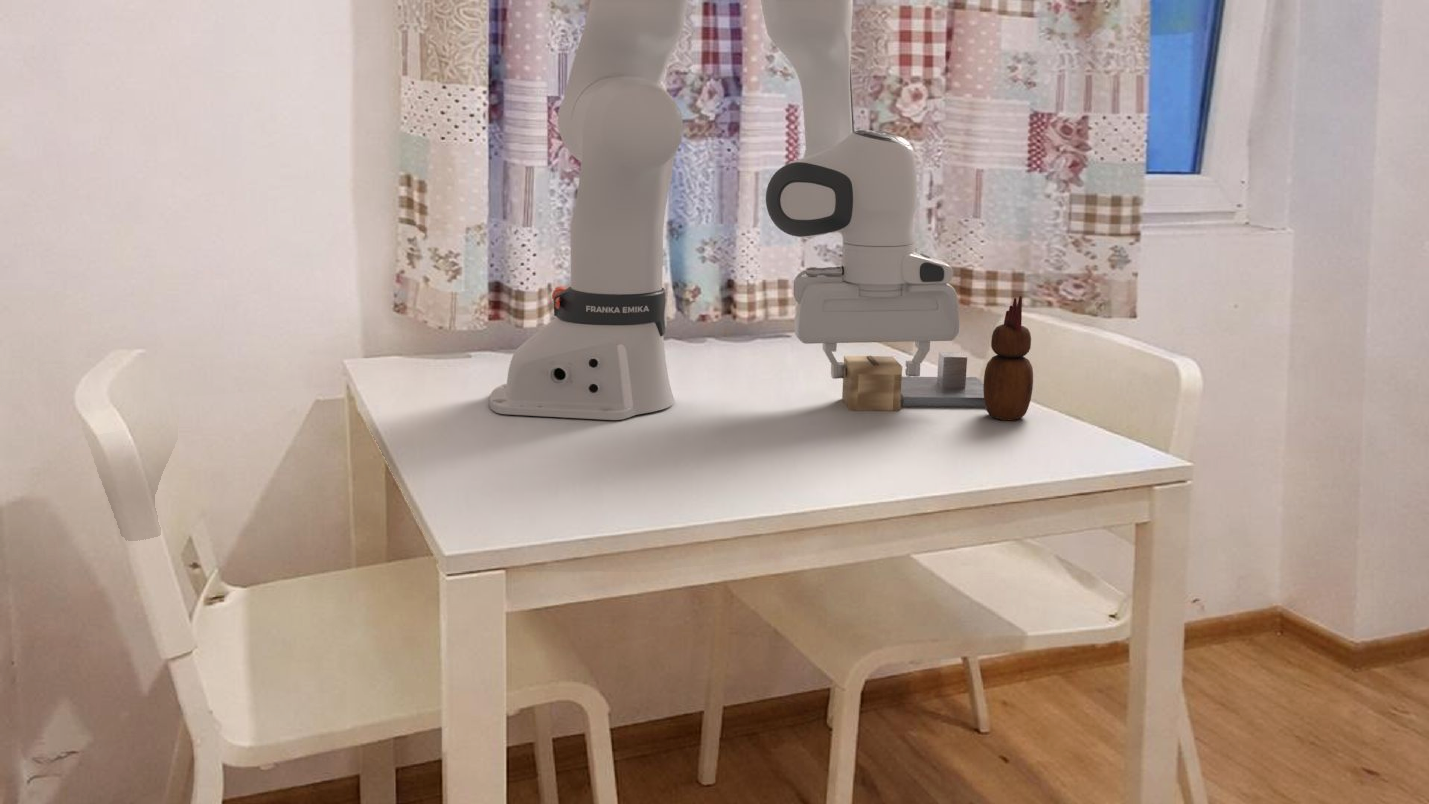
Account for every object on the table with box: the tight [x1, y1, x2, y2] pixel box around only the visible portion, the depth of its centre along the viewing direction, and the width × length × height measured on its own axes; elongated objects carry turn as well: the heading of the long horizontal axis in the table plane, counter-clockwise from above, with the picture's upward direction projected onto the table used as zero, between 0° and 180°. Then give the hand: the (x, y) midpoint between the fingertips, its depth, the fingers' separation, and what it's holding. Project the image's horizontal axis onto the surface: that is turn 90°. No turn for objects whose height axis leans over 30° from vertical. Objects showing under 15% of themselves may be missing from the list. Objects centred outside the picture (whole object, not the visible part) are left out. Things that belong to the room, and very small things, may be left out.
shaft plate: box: [900, 351, 986, 408], centre depth 169 cm, size 12×12×5 cm
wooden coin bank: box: [841, 355, 903, 412], centre depth 163 cm, size 6×6×6 cm
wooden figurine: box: [983, 295, 1034, 421], centre depth 157 cm, size 7×6×15 cm
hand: (875, 376), depth 164 cm, fingers open, 8 cm apart
